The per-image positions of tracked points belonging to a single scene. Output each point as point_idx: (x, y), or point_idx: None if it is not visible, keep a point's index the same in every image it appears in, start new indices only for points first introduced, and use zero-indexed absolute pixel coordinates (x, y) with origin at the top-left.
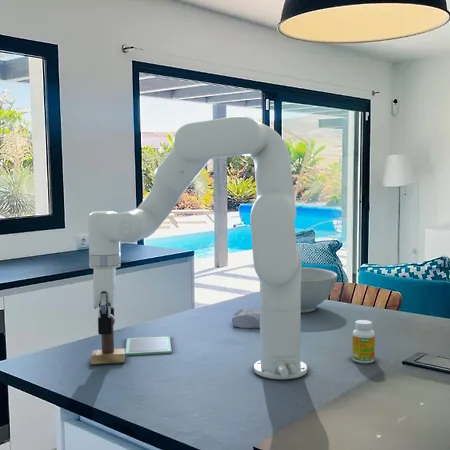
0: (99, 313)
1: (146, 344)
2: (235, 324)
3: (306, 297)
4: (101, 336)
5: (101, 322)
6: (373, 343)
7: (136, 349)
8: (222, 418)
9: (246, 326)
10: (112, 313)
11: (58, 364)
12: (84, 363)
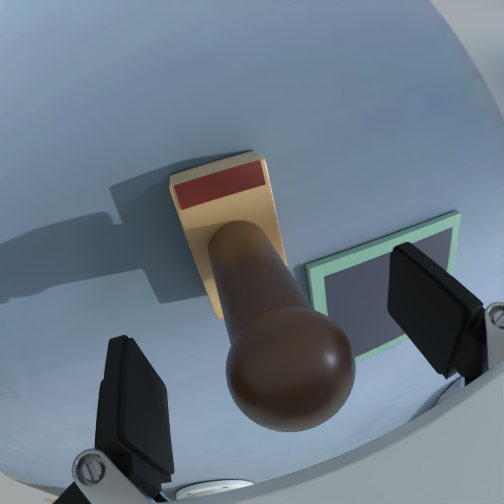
0: (90, 496)
1: None
2: (451, 389)
3: None
4: (243, 267)
5: (97, 433)
6: None
7: (349, 289)
8: (26, 464)
9: (439, 401)
10: (423, 352)
11: (172, 15)
12: (195, 129)
